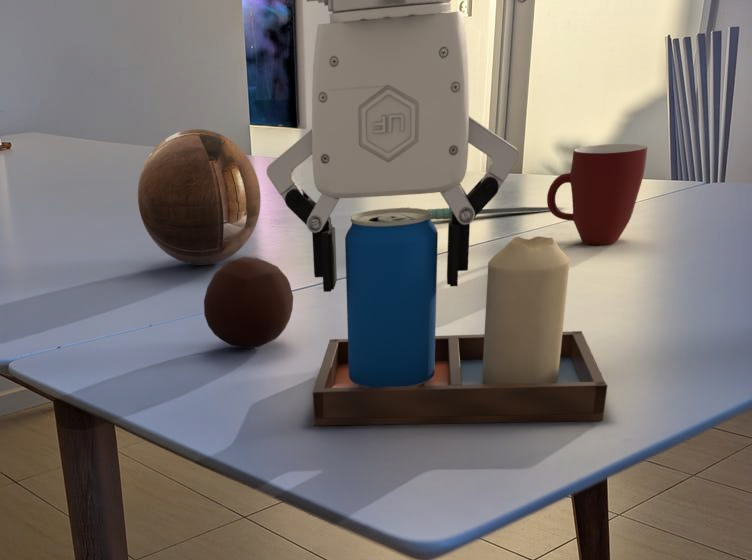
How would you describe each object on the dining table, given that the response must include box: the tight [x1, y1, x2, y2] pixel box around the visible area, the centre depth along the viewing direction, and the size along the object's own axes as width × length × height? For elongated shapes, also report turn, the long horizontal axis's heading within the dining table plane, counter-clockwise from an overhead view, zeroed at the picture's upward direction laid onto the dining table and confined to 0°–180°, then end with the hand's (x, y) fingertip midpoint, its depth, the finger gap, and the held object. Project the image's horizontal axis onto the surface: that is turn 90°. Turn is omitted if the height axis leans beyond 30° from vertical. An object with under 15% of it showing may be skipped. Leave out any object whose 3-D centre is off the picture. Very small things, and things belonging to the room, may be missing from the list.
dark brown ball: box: [203, 256, 294, 349], centre depth 82 cm, size 8×9×8 cm
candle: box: [482, 236, 571, 384], centre depth 66 cm, size 6×6×10 cm
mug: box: [546, 143, 648, 246], centre depth 108 cm, size 11×8×10 cm
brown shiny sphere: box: [137, 128, 262, 266], centre depth 112 cm, size 15×15×15 cm
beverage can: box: [344, 207, 439, 387], centre depth 67 cm, size 6×6×12 cm
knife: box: [425, 206, 550, 220], centre depth 129 cm, size 23×2×5 cm
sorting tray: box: [312, 330, 608, 426], centre depth 69 cm, size 20×13×2 cm, turn 82°
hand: (390, 283), depth 66 cm, fingers open, 8 cm apart
